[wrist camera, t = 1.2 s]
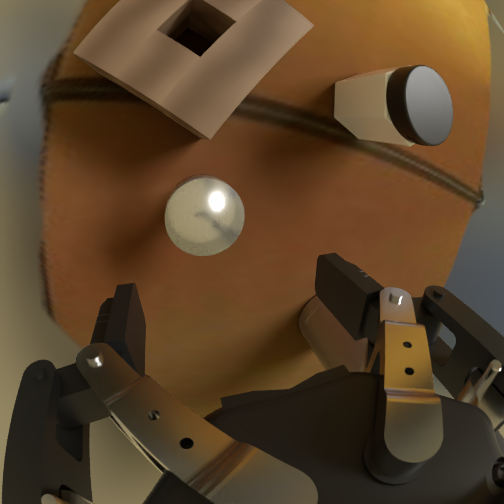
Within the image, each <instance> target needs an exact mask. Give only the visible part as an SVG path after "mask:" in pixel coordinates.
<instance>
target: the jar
mask: <svg viewBox="0 0 504 504" xmlns="http://www.w3.org/2000/svg"><path fill="white" fill-rule="evenodd" d="M334 118H335V119H336V120H338V121H339V122H340V123H341V124H342V125H343V126H344V127H346V128H347V129H348V130H349V131H350V132H351V133H352V134H353V135H354V136H356V137H357V138H358V139H362V140H370V141H378V142H385V143H392V144H399V145H405V146H412V145H414V144H415V143H416V144H419V145H425V146H437V145H439V144H441V143H442V142H444V141H445V139H446V138H447V137H448V135H449V133H450V130H451V127H452V122H453V106H452V100H451V96H450V93H449V90H448V88H447V86H446V84H445V82H444V81H443V79H442V78H441V76H440V75H439V74H438V73H437V72H436V71H435V70H433V69H432V68H430V67H428V66H425V65H414V66H412V65H409V66H401V67H394V68H388V69H382V70H376V71H370V72H365V73H360V74H357V75H354V76H352V77H349V78H346V79H343V80H340V81H338V82H336V83H335V103H334Z"/></svg>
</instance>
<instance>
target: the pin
mask: <svg viewBox="0 0 504 504" xmlns="http://www.w3.org/2000/svg"><path fill="white" fill-rule="evenodd" d="M244 217H245V215H244V207H243V204H242V201H241V199H240V197H239V196H238V194H237V193H236V192H235V191H234V190H233V189H232V188H231V187H230V186H229V185H228V184H227V183H226V182H224V181H223V180H222V179H220V178H218V177H216V176H212V175H207V174H199V175H193V176H190V177H188V178H186V179H184V180H182V181H181V182H179V183H178V184H177V185H176V186H175V187H174V188H173V190H172V191H171V193H170V195H169V197H168V199H167V203H166V210H165V226H166V230H167V233H168V235H169V237H170V239H171V240H172V241H173V243H174V244H175V245H176V246H177V247H178V248H180V249H181V250H183V251H185V252H187V253H189V254H192V255H197V256H209V255H214V254H217V253H219V252H222V251H223V250H225V249H227V248H228V247H229V246H231V245H232V244H233V243H234V242H235V240H236V239H237V238H238V236H239V235H240V233H241V231H242V228H243V224H244Z"/></svg>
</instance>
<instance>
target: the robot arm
mask: <svg viewBox="0 0 504 504" xmlns="http://www.w3.org/2000/svg"><path fill="white" fill-rule="evenodd" d="M315 291H316V296H315V297H314V298H312V299H311V300H310V301H309V302H308V303H307V304H306V306H305V307H304V309H303V310H302V312H301V314H300V318H299V329H300V331H301V333H302V334H303V336H304V337H305V339H306V340H307V342H308V344H309V345H310V347H311V348H312V350H313V351H314V353H315V354H316V356H317V357H318V359H319V361H320V362H321V364H322V365H323V367H324V368H325V370H326V371H323V372H320V373H317V374H315V375H314V376H312V377H310V378H308V379H307V380H305V381H303V382H302V383H300V384H298V385H296V386H294V387H293V388H290V389H284V390H266V391H251V392H247V393H242V394H238V395H233V396H228V397H223V398H221V403H222V408H219V409H217V410H215V411H213V412H212V413H210V414H208V415H207V416H206V417H204V418H202V417H200V416H199V415H198V414H196V413H195V412H194V411H192V410H191V409H190V408H188V407H187V406H186V405H184V404H183V403H182V402H180V401H179V400H178V399H177V398H175V397H174V396H173V395H172V394H170V393H169V392H168V391H167V390H165V389H164V388H163V387H162V386H161V385H160V384H158V383H157V382H156V381H155V380H154V379H153V378H151V377H150V376H148V375H145V335H146V324H145V317H144V313H143V310H142V306H141V302H140V299H139V295H138V291H137V287H136V285H135V283H130V284H122V285H117V288H116V291H115V295H114V298H107V300H106V301H105V302H104V303H103V304H102V305H101V307H100V310H99V314H98V315H99V316H98V317H97V320H96V322H97V323H96V324H95V328H94V331H93V335H92V339H91V343H90V345H88V346H86V347H84V348H83V349H82V350H81V351H80V352H79V353H78V354H77V357H76V363H74V364H71V365H68V366H65V367H62V368H59V369H56V368H55V366H54V365H53V363H52V362H50V361H48V360H38V361H36V362H33V363H32V364H30V365H29V366H28V367H27V369H26V370H25V371H24V373H23V376H22V380H21V383H20V387H19V390H18V394H17V397H16V401H15V406H14V410H13V414H12V419H11V423H10V429H9V434H8V439H7V446H6V453H5V461H4V471H3V486H2V504H94V503H93V501H92V491H91V478H90V458H89V427H90V423H91V422H94V421H97V420H100V419H103V418H106V417H110V418H111V419H112V421H113V422H114V423H115V424H116V425H117V427H118V428H119V429H120V430H121V431H122V432H123V433H124V434H125V436H126V437H127V438H128V439H129V440H130V441H131V442H132V443H133V444H134V445H135V446H136V447H137V448H138V450H140V452H141V453H142V454H143V455H144V456H145V457H146V458H147V459H148V460H149V461H150V462H151V463H152V464H153V465H154V466H155V467H156V468H157V469H158V470H159V471H160V472H161V473H162V474H163V475H162V476H161V478H160V479H159V481H158V482H157V483H156V485H155V487H154V488H153V490H152V491H151V492H150V494H149V495H148V497H147V498H146V500H145V501H144V503H143V504H504V438H503V437H502V435H501V434H500V433H499V431H498V430H499V429H500V427H501V426H502V425H503V424H504V337H503V336H502V335H501V334H500V333H498V331H496V330H495V329H494V328H493V327H492V326H491V325H490V324H488V323H487V322H486V321H485V320H483V319H482V318H481V317H480V316H479V315H478V314H477V313H475V312H474V311H473V310H472V309H471V308H469V307H468V306H467V305H466V304H464V303H463V302H462V301H461V300H459V299H458V298H457V297H456V296H454V295H453V294H452V293H450V292H449V291H448V290H446V289H445V288H442V287H439V286H428V287H426V289H425V291H424V295H423V297H417V298H411V296H410V295H409V294H408V293H407V292H406V291H404V290H402V289H399V288H392V287H391V288H384V287H382V286H381V285H380V284H379V283H377V282H376V281H375V280H374V279H372V278H371V277H370V276H368V275H367V274H366V273H365V272H363V271H362V270H361V269H360V268H359V267H357V266H356V265H354V264H352V263H349V262H347V261H345V260H344V259H343V258H341V257H340V256H339V255H338V254H336V253H330V254H324V255H319V257H318V259H317V268H316V279H315ZM443 324H444V325H445V326H446V327H447V328H448V329H449V330H450V331H451V332H452V333H453V334H454V335H455V337H456V345H455V347H454V349H453V350H452V349H451V348H450V347H449V346H448V345H447V344H446V343H445V342H444V341H443V340H442V339H441V338H440V337H439V336H438V335H439V333H440V330H441V328H442V326H443ZM433 374H434V375H435V376H436V377H437V378H438V380H439V381H440V382H441V383H442V384H443V385H444V387H445V388H446V389H447V390H448V391H449V392H450V394H451V395H452V396H453V397H454V399H451V398H448V397H445V396H441V395H438V394H435V391H434V382H433Z"/></svg>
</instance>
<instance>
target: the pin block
mask: <svg viewBox="0 0 504 504" xmlns="http://www.w3.org/2000/svg"><path fill="white" fill-rule="evenodd" d="M313 26H314V25H313V24H312V23H311V22H309V21H308V20H307V19H306V18H305V17H304V16H302V15H301V14H300V13H299V12H298V11H296V10H295V9H294V8H293V7H291V6H290V5H289V4H288V3H286V2H285V1H284V0H120V1H119V2H118V3H117V4H116V5H115V6H114V7H113V8H112V9H111V10H110V11H109V12H108V13H107V14H106V15H105V16H104V17H103V18H102V19H101V20H100V21H99V22H98V23H97V25H96V26H95V27H94V28H93V29H92V30H91V31H90V33H89V34H88V35H87V36H86V37H85V38H84V40H83V41H82V42H81V43H80V45H79V46H78V47H77V48H76V50H75V51H74V52H73V53H74V54H75V55H76V56H77V57H79V58H80V59H81V60H82V61H84V62H85V63H86V64H87V65H89V66H90V67H91V68H92V69H94V70H95V71H96V72H97V73H99V74H101V75H103V76H104V77H106V78H108V79H109V80H111V81H113V82H114V83H116V84H118V85H119V86H121V87H123V88H124V89H126V90H127V91H129V92H131V93H132V94H134V95H135V96H137V97H139V98H140V99H142V100H143V101H145V102H146V103H148V104H150V105H151V106H153V107H154V108H156V109H157V110H159V111H160V112H162V113H163V114H165V115H166V116H168V117H169V118H171V119H172V120H174V121H175V122H177V123H178V124H180V125H181V126H183V127H184V128H186V129H187V130H188V131H190V132H191V133H193V134H194V135H196V136H197V137H199V138H200V139H209V140H211V138H212V137H213V136H214V134H215V133H216V132H217V131H218V129H219V128H220V127H221V126H222V124H223V123H224V122H225V121H226V119H227V118H228V117H229V116H230V114H231V113H232V112H233V111H234V110H235V108H236V107H237V106H238V105H239V104H240V103H241V101H242V100H243V99H244V98H245V97H246V96H247V94H248V93H249V92H250V91H251V90H252V89H253V88H254V86H255V85H256V84H257V83H258V82H259V81H260V80H261V79H262V78H263V76H264V75H265V74H266V73H267V72H268V71H269V70H270V69H271V68H272V67H273V66H274V65H275V64H276V63H277V62H278V61H279V59H280V58H281V57H282V56H283V55H284V54H285V53H286V52H287V51H288V50H289V49H290V48H291V47H292V46H293V45H294V44H295V43H296V42H297V41H298V40H299V39H300V38H302V37H303V36H304V35H305V34H306V33H307V32H308V31H309V30H310V29H311V28H312V27H313ZM187 28H189V29H190V30H192V31H194V32H195V33H197V34H198V35H200V36H201V37H203V38H205V39H206V40H208V41H209V42H211V43H212V44H213V45H212V46H211V47H210V48H209V49H208V50H207V51H206V52H205V53H204V54H203V55H202V56H201V57H199V56H198V55H196V54H195V53H193V52H192V51H190V50H189V49H187V48H186V47H184V46H182V45H181V44H179V43H178V42H176V41H175V40H176V39H177V38H178V37H179V36H180V35H181V34H182V33H183V32H184V31H185V30H186V29H187Z"/></svg>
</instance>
